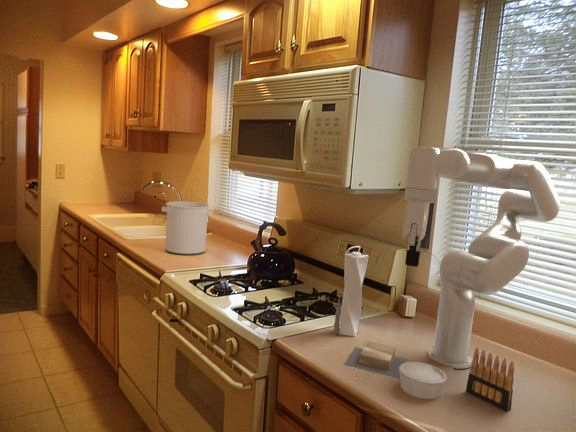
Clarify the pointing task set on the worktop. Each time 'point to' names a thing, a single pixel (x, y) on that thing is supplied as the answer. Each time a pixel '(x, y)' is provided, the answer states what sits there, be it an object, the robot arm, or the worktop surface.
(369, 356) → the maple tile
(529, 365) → the worktop surface
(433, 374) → the ramekin
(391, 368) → the mat
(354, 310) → the skyscraper
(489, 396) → the ammunition clip
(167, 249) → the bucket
